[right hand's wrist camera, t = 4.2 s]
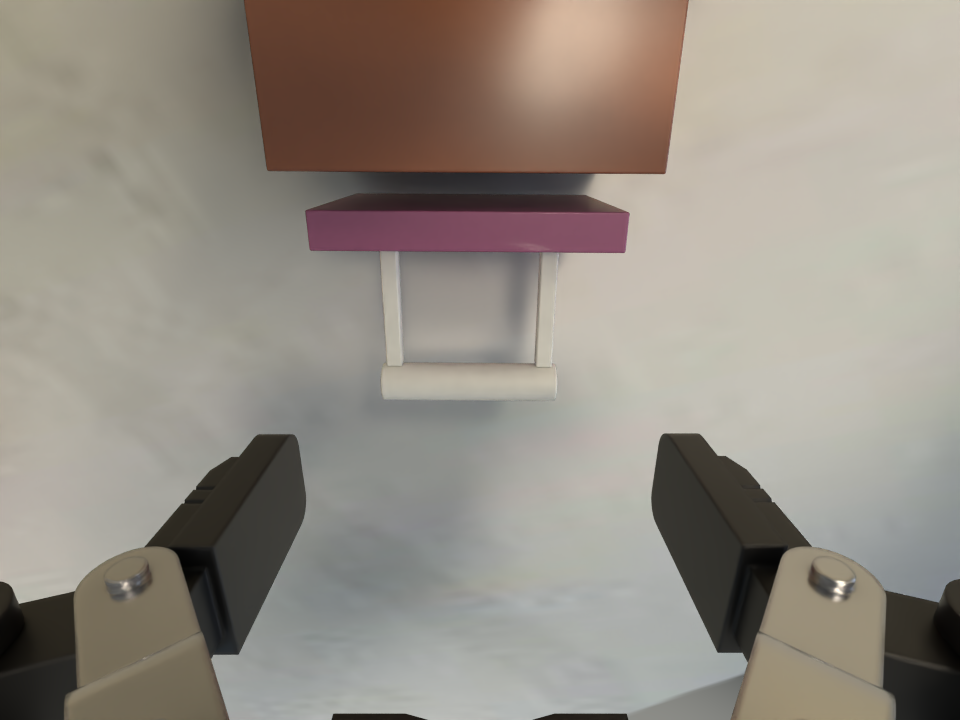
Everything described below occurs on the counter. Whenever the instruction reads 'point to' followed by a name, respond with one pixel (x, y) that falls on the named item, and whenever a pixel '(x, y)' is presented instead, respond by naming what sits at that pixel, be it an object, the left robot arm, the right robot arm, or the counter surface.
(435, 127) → the cabinet
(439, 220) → the drawer
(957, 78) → the counter surface
